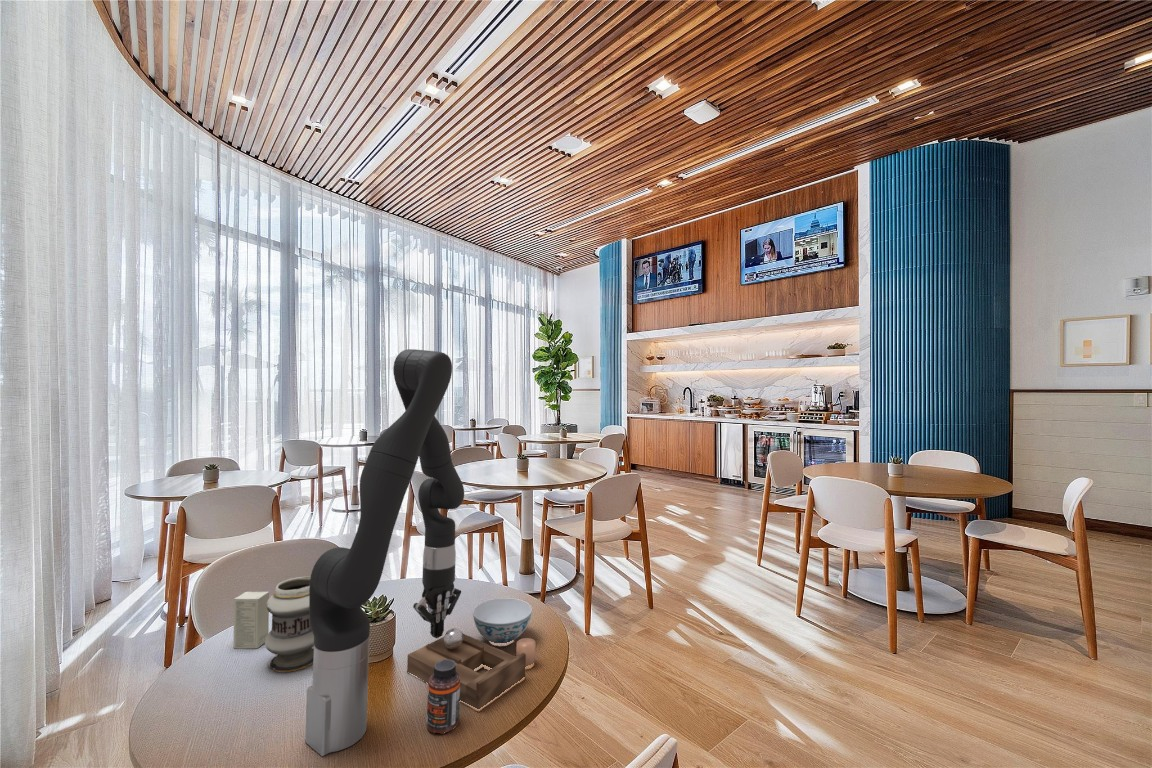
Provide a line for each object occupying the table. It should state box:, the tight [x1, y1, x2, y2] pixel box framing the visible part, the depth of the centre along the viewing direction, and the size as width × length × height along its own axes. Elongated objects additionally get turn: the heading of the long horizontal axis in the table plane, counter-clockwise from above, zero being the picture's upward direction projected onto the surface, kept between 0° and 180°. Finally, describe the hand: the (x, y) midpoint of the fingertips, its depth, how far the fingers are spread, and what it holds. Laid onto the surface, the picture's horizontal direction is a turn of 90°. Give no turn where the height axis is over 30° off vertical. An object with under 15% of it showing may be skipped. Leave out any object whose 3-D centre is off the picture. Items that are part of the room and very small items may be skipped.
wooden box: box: [406, 633, 526, 709], centre depth 106 cm, size 14×23×6 cm, turn 55°
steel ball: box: [443, 627, 464, 649], centre depth 110 cm, size 4×4×4 cm
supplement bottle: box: [426, 659, 460, 734], centre depth 90 cm, size 6×6×11 cm
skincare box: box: [233, 591, 270, 650], centre depth 118 cm, size 6×4×12 cm
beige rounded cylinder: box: [515, 637, 536, 666], centre depth 111 cm, size 4×4×5 cm
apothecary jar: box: [264, 576, 314, 673], centre depth 111 cm, size 12×12×18 cm
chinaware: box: [472, 597, 533, 643], centre depth 122 cm, size 15×15×8 cm
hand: (437, 636), depth 114 cm, fingers closed
